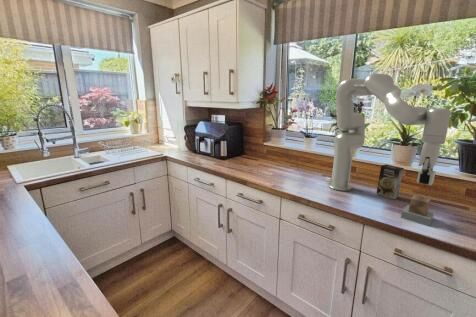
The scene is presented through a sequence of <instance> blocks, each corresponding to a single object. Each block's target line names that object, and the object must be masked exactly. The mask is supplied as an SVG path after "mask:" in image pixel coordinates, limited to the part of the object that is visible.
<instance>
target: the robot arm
mask: <svg viewBox="0 0 476 317" xmlns="http://www.w3.org/2000/svg"><path fill="white" fill-rule="evenodd" d="M401 94H402V89H401V88H399V86H397V85H395V82H394V79H393V77H392V76H391V75H389V74H386V73H372V74H369V75H368V76H367V77H366V78H365V79H363V78H362V79H361V78H347V79H344V80H343V81H341V82H340V83H339V84H338V86H337V89H336V93H335V100H336V125H337V128H338V129H339V130H340V131H348V132H342V133H339V134H337V135H336V136H335V137H334V140H333V147H334V148H333V150H334V154H333V155H334V156H333V164H332V172H331V177H329V176H326V177H325V178H324V180H325V182H329V183H328V184H327V186H328V188H330V189H332V190H335V191H341V192H347V191H348V192H349V191H351V190H352V188H353V187H352V186H351V184H350V178H351V171H352V164H353V154H352V150H358V149H360V148H362V147H363V146H364V144H365V141H366V140H365V137H366V135H365V134H366V133H365V132H366V131H365V130H366V121H365V118H364V115H362V114H361V113H358V112H355V105H354V100H353V98H352V96H357V97H365V96H371V95H373V96H374V97H375V98H377V99H378V100H379V101H381V102H382V103H383V104H384V106H385V109H386V111H387V112H388V114H389V115H390V116H392V117H393V118H394V119H395V120H396V121H397V122H399V123H401V124H402V125H405V126H421V125H424V126H423V133H422V137H421V142H422V143H423V145H422V148H421V152H420V157H419V160H418V164H417V165H418V167H421V166H422V167H421V169H422V171H421V174H420V179H419V184H422V183H423V184H424V185H427V184H429V179H430V175H429V174H430V170H431V171H434V167H435V166H436V165H437V161H438V158H439V154H440V150H441V149H440V148H441V146H442V145H445V144H446V139H447V133H448V128H449V124H450V118H451V114H452V111H451V109H450V108H443V107H425V106H412V105H410V104H408V103H407V102H406V101H404V100H403V99H402V98H401V97H400V96H401Z"/></svg>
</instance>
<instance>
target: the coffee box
mask: <svg viewBox="0 0 476 317" xmlns="http://www.w3.org/2000/svg"><path fill="white" fill-rule="evenodd" d="M404 170H405V169H404V167H399V166H396V165H390V164H383V165H381V166H380V170H379V177H378V181H377V182H378V183H377V186H376V187H377V189H376V193H375V194H376V195H377V196H380V197H381V196H382V197H384V198H386V199H387V198H388V199H390V200H396V199H397V198H398V197H399V196H400V195H399V194H400V190H401V185H402V181H403V180H402V179H403V173H404Z"/></svg>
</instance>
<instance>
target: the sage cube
mask: <svg viewBox="0 0 476 317" xmlns="http://www.w3.org/2000/svg"><path fill="white" fill-rule="evenodd" d="M421 171H422V168H420V169H419V170H418V172H417V173H418V174H417V179H416V183H417V184H418V183H419V179H420V174H421ZM429 175H430V179H429V184H426V185H427V186H432V185H433V184H434V181H435V177H436V176H435V175H436V171H435V170H433V171H431V170H430V174H429ZM419 184H420V183H419ZM421 184H423V183H421Z"/></svg>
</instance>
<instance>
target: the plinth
mask: <svg viewBox="0 0 476 317" xmlns="http://www.w3.org/2000/svg"><path fill="white" fill-rule="evenodd" d="M409 206H410V204H407V205H406V206H405V207H404V209H402V211H401V213H400V214H401V215H400V218H402V219H405V220H408V221H411V222H415V223H418V224H422V225H424V226H428V227H429V226H430V225H431V222H432V221H433V220H434V215H435V211H433V210H429V209H428V212H427V214H426V215H425V216H423V215H420V214H416V213H413V212H409Z"/></svg>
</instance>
